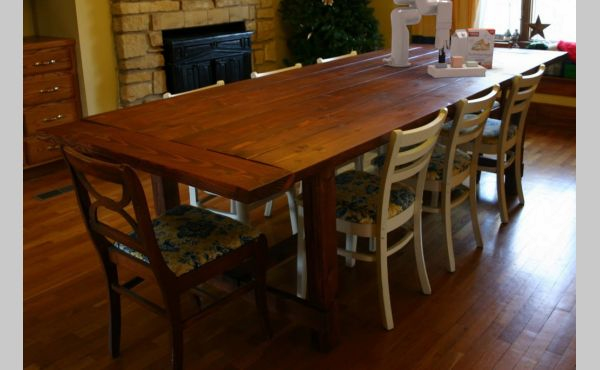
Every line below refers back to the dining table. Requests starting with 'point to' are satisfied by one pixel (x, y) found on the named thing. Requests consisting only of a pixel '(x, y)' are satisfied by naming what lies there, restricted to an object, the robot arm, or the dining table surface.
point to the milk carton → (459, 44)
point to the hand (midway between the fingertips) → (441, 62)
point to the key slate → (440, 65)
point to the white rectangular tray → (456, 71)
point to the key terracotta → (456, 61)
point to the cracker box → (480, 46)
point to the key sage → (471, 64)
